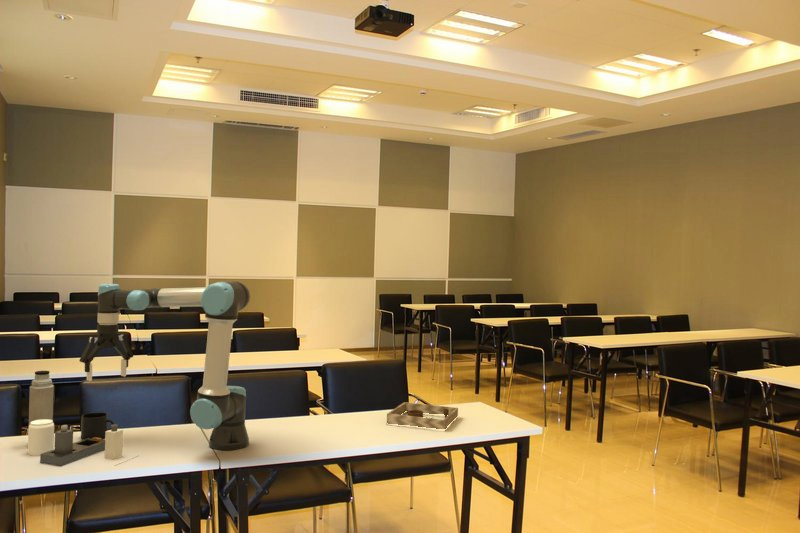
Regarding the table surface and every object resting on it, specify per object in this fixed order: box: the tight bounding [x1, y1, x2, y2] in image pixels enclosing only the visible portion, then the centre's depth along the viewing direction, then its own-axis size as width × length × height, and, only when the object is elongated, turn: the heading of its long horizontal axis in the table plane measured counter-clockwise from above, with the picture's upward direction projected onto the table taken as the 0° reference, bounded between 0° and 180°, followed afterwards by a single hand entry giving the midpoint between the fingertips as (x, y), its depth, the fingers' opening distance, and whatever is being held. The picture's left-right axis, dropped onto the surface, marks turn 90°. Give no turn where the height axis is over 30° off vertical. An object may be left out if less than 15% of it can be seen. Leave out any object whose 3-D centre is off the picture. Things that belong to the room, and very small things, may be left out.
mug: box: [80, 411, 115, 440], centre depth 254 cm, size 9×12×9 cm
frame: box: [386, 401, 459, 429], centre depth 296 cm, size 27×26×5 cm
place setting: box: [407, 409, 449, 419], centre depth 296 cm, size 18×20×6 cm
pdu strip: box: [39, 437, 105, 467], centre depth 228 cm, size 22×9×5 cm, turn 162°
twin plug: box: [54, 424, 74, 455], centre depth 223 cm, size 4×4×12 cm
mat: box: [114, 455, 139, 467], centre depth 228 cm, size 12×12×1 cm
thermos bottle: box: [28, 370, 55, 426], centre depth 242 cm, size 8×8×28 cm
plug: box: [104, 423, 124, 460], centre depth 228 cm, size 4×4×12 cm
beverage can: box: [27, 419, 55, 457], centre depth 231 cm, size 8×8×12 cm
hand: (106, 378), depth 247 cm, fingers open, 13 cm apart
